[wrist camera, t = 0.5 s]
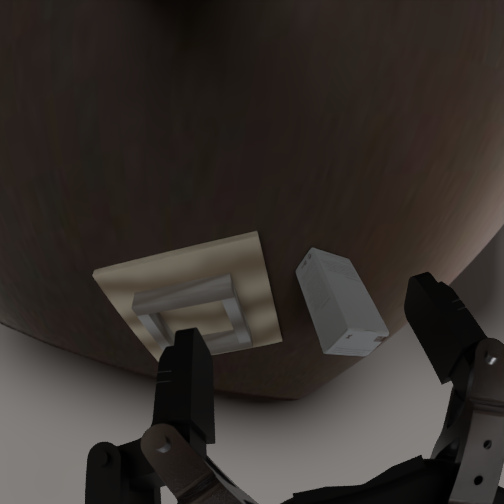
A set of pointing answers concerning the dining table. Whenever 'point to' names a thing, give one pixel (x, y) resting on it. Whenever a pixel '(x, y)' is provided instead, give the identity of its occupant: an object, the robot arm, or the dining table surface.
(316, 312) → the skincare box
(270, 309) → the square frame tray
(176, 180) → the dining table surface
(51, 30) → the dining table surface
